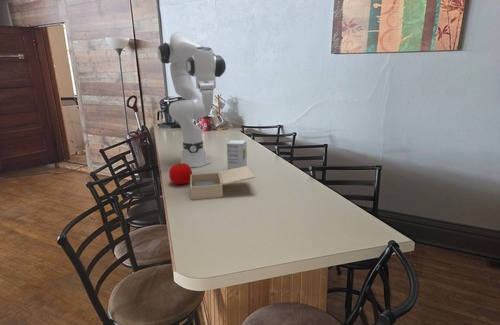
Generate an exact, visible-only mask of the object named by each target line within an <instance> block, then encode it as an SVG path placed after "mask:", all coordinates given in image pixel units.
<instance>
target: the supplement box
mask: <svg viewBox="0 0 500 325" xmlns="http://www.w3.org/2000/svg"><path fill="white" fill-rule="evenodd" d="M247 152H248V151H247V140H246V139H245V140H237V139H235V140H234V139H232V140H229V141H228V142H227V143H226V157H227V158H226V159H227V160H226V162H227V170H230V169H234V168H239V167H244V166H248V161H247V157H248V156H247Z"/></svg>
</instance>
